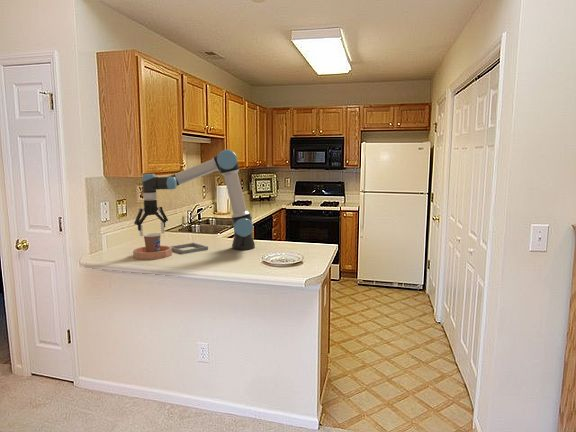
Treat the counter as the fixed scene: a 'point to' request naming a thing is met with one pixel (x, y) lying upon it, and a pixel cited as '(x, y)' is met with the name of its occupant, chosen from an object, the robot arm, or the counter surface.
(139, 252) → the terracotta bowl
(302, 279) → the counter surface
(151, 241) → the coffee cup
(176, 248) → the tray
